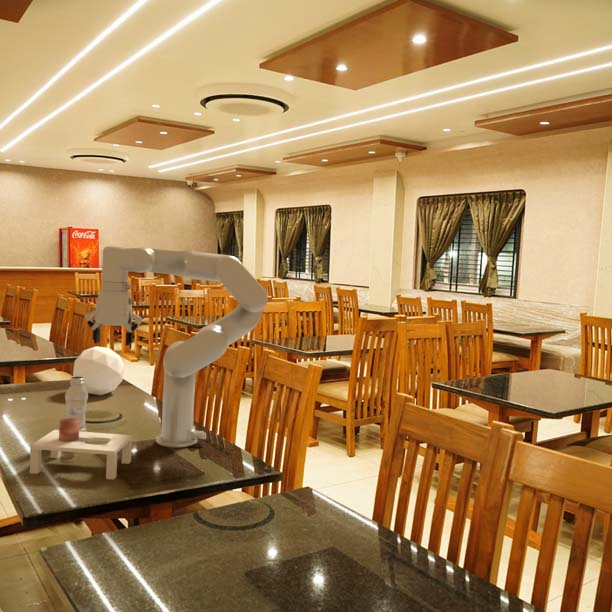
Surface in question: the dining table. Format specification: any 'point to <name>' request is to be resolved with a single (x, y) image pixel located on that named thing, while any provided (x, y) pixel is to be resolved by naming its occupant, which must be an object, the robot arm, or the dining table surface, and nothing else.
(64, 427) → the peg
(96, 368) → the ball
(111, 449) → the keyhole plate
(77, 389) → the plastic bottle
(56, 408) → the dining table surface
